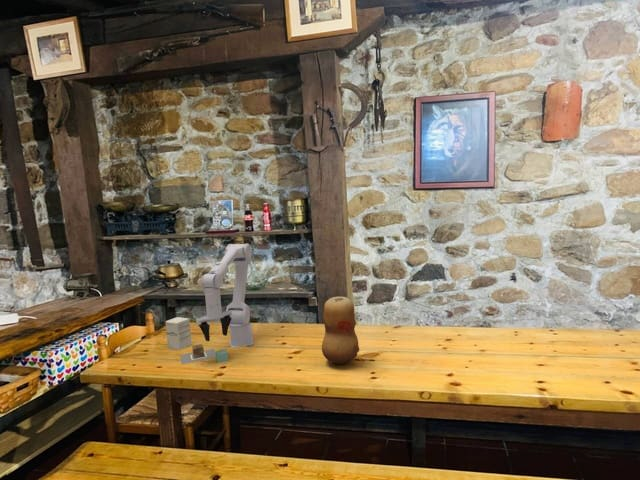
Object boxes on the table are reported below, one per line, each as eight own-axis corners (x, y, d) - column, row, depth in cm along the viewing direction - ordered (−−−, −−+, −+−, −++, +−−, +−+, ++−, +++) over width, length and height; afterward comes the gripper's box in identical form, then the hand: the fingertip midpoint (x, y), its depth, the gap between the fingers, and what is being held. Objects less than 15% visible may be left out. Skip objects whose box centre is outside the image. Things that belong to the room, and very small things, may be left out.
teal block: (226, 358, 169) (225, 349, 169) (228, 362, 165) (227, 352, 165) (216, 360, 168) (215, 351, 167) (218, 364, 164) (217, 354, 163)
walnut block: (202, 353, 174) (202, 344, 174) (204, 356, 171) (203, 347, 170) (192, 355, 173) (192, 345, 172) (194, 358, 169) (193, 349, 169)
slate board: (214, 349, 179) (213, 348, 179) (218, 358, 169) (218, 357, 169) (179, 356, 174) (179, 354, 174) (181, 365, 164) (181, 364, 164)
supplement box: (167, 349, 183) (164, 321, 181) (180, 343, 189) (177, 316, 188) (179, 351, 179) (176, 323, 178) (192, 345, 186) (189, 318, 184)
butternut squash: (328, 372, 150) (324, 304, 148) (318, 359, 163) (315, 296, 160) (365, 366, 154) (362, 300, 151) (352, 353, 167) (349, 291, 164)
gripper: (224, 298, 172) (227, 330, 174) (191, 306, 162) (194, 340, 164) (233, 301, 167) (236, 334, 169) (200, 309, 157) (203, 344, 159)
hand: (216, 337), depth 166 cm, fingers open, 7 cm apart
